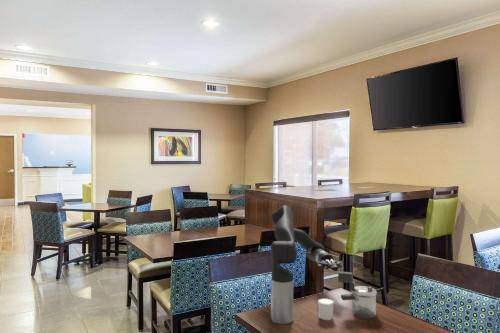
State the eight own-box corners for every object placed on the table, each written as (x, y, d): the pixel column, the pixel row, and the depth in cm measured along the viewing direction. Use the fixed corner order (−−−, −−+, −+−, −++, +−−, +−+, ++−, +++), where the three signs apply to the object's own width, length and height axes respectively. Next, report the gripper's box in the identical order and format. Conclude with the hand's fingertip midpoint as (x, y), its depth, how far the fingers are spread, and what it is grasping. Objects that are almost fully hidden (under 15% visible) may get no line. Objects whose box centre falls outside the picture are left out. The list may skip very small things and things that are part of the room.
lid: (337, 293, 159) (337, 275, 159) (339, 285, 169) (339, 268, 169) (376, 298, 154) (376, 279, 154) (376, 289, 164) (376, 272, 164)
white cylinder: (334, 321, 153) (334, 304, 153) (317, 320, 154) (317, 303, 154) (333, 314, 160) (333, 298, 159) (317, 313, 161) (317, 297, 161)
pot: (346, 319, 155) (346, 298, 155) (338, 309, 165) (338, 289, 165) (380, 317, 156) (380, 296, 156) (369, 308, 166) (369, 288, 166)
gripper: (312, 252, 189) (322, 261, 172) (336, 252, 191) (349, 260, 173) (312, 267, 189) (322, 277, 172) (336, 266, 191) (349, 276, 173)
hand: (336, 269), depth 173 cm, fingers closed
